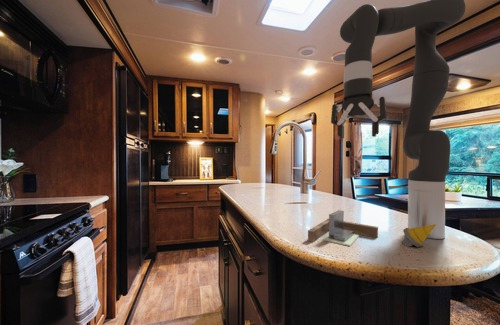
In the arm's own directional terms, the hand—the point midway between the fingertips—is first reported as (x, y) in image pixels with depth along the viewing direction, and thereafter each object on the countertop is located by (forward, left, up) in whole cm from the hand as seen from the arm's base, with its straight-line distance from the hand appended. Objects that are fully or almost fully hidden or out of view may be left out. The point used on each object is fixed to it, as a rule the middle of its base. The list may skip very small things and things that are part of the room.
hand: (357, 137), depth 63 cm
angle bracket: (0, -4, -30) cm, 30 cm away
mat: (0, -4, -30) cm, 30 cm away
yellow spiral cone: (-7, +14, -30) cm, 34 cm away
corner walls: (0, -3, -30) cm, 30 cm away
